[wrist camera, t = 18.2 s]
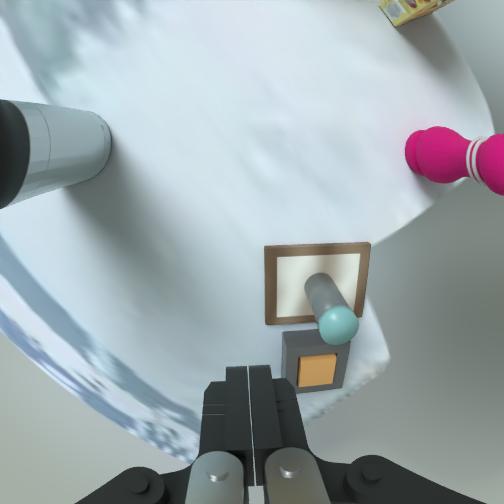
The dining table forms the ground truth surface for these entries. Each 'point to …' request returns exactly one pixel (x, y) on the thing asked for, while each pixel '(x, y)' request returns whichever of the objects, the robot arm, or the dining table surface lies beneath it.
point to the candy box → (410, 9)
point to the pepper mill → (457, 157)
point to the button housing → (311, 345)
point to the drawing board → (305, 265)
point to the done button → (316, 370)
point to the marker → (330, 310)
